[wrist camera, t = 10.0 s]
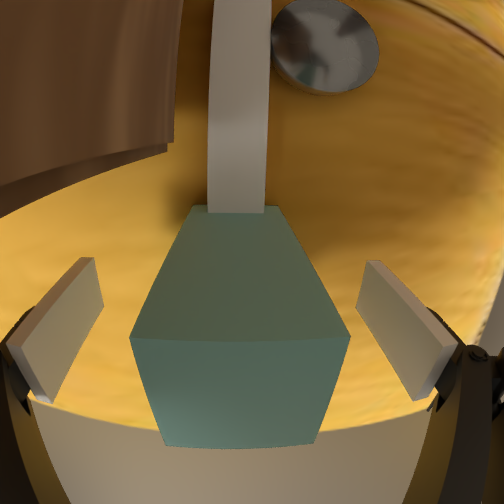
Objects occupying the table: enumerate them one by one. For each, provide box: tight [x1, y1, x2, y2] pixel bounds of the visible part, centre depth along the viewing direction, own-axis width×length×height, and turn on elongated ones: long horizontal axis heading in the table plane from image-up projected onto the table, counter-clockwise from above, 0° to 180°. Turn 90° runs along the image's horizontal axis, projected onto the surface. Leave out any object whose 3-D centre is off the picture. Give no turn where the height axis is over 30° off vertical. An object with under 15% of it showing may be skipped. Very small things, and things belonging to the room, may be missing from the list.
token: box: [270, 0, 379, 96], centre depth 13 cm, size 6×6×2 cm
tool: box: [129, 0, 351, 449], centre depth 10 cm, size 5×18×12 cm, turn 178°
